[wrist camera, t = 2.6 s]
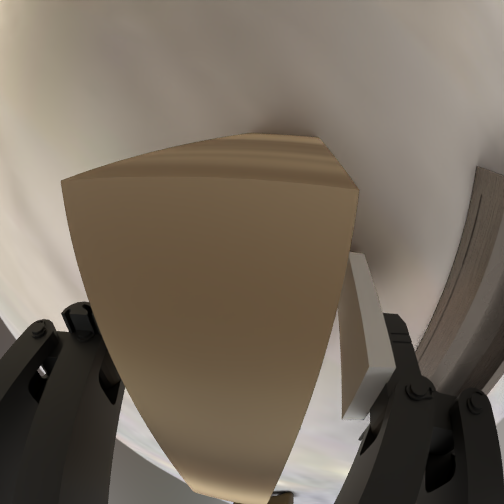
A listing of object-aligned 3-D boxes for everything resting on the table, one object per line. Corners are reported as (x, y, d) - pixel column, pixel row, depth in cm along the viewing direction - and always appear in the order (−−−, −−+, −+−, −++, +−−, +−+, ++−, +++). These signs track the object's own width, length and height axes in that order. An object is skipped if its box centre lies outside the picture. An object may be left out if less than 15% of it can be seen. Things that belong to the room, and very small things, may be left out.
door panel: (247, 133, 11) (55, 180, 2) (321, 138, 11) (371, 192, 2) (244, 341, 17) (191, 491, 8) (295, 349, 16) (267, 507, 7)
